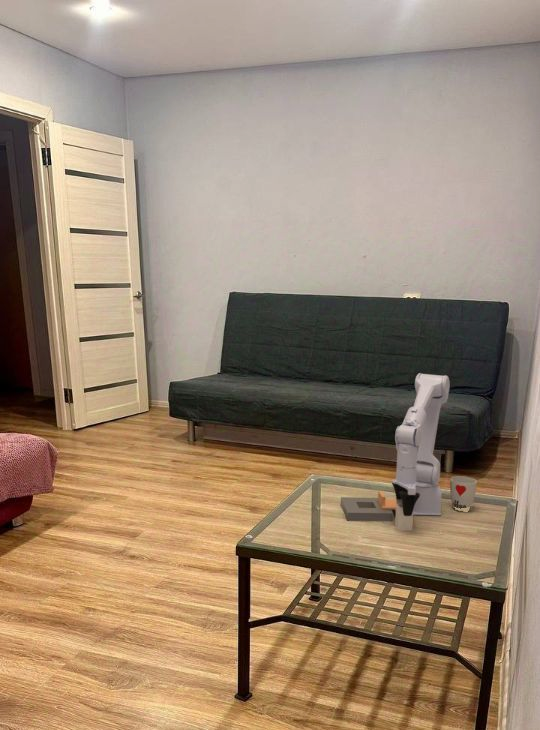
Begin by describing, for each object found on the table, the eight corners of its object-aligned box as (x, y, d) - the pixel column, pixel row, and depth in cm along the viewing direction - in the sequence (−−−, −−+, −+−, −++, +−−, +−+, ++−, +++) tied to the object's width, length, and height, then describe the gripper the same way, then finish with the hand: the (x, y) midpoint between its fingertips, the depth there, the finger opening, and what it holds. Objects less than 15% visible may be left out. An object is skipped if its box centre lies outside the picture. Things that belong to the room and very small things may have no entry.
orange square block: (401, 500, 192) (402, 490, 191) (408, 509, 184) (408, 498, 183) (377, 500, 191) (377, 489, 191) (382, 509, 184) (383, 498, 183)
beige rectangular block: (408, 525, 178) (409, 499, 177) (411, 530, 174) (413, 504, 173) (395, 525, 178) (396, 499, 177) (398, 530, 174) (399, 503, 173)
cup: (443, 507, 194) (445, 477, 193) (461, 503, 198) (462, 474, 197) (462, 515, 187) (464, 485, 186) (480, 511, 191) (482, 481, 190)
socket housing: (383, 505, 195) (383, 497, 195) (392, 521, 181) (393, 513, 181) (340, 504, 194) (340, 497, 194) (347, 520, 181) (347, 512, 180)
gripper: (387, 459, 181) (385, 502, 182) (399, 472, 167) (396, 519, 168) (410, 459, 181) (408, 502, 183) (423, 473, 167) (421, 520, 168)
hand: (404, 510), depth 175 cm, fingers open, 7 cm apart
